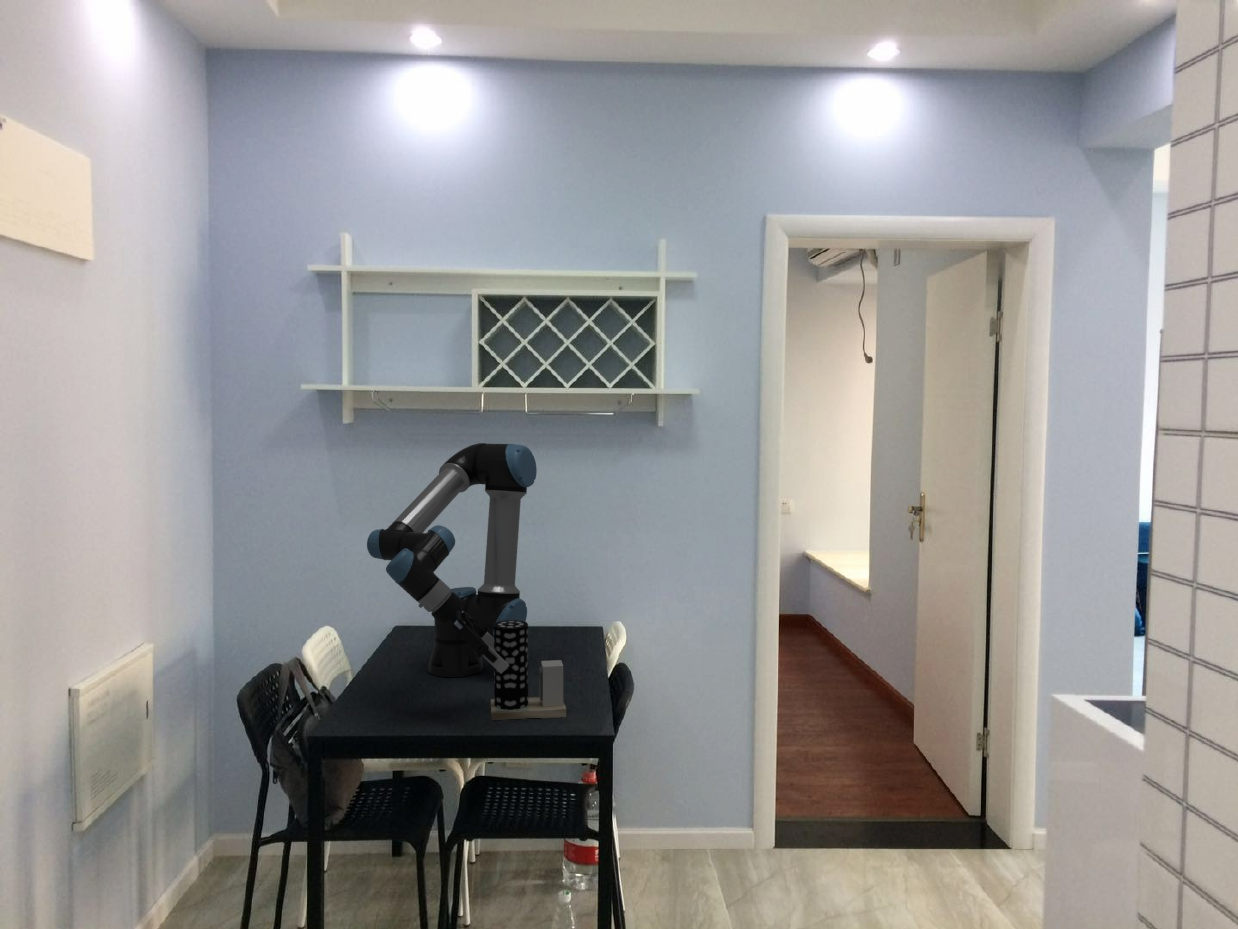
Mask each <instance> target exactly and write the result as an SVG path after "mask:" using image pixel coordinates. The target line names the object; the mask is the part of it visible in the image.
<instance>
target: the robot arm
mask: <svg viewBox="0 0 1238 929" xmlns="http://www.w3.org/2000/svg"><path fill="white" fill-rule="evenodd" d="M537 469H538V468H537V463H536V459H535V456H534V455H533V452H532V451H531V450H530V448H528V446H526V445H521V444H515V443H485V442H482V443H481V442H479V443H473V444H472V445H468V446H466V447H465V448H462V449H460V450H459V451H458V452H456V453H455V454H453V455H452V456H450V457H449V458H448V459H447V460H446V461H445V462H444V463H443V464H442V465H441V466H440V467H439V470H438V474H437V475H436V477H435V478H434V479H433V480H431V482H430V483H429V484H428V485H427V486H426V487H425V488H424V489H423V490H422V491H421V492H420V493H419V494H418V496H416V497H415V499H414V500H412V502H411V503H410V504H409V505H408V506H407V507H406V508H405V509H404V510H403V511H402V512H401V513H400V514H399V515H398V517H397V518H395V520H394V521H393V522H391V524H390V525H389V526H388V527H387V528H386V529H385V528H380V529H375V530H373V531H371V532H370V533H369V535H368V537H367V541H366V548H367V551H368V554H369V556H371V557H372V558H374V559H377V560H378V559H379V560H382V561H388V563H387V565H386V567H385V572H386V573H387V575H388V576H389V577H390V578H391V579H392V581H394V582H395V584H397V585H398V586H399V587H400V588H402V589H403V590H404V591H405V592H406V593H407V594H409V596H410V597H411V598H412V599H413V600H415V601H416V602H418V608H420V609H421V608H422V609H424V610H425V611H427V612H428V613H431V616H432V618H434V620H433V621H434V645H433V648H432V651H431V654H430V656H429V657H430V658H429V661H428V672H429V673H430V674H431V675H434V676H436V677H443V678H460V677H468V676H473V675H475V674H478V673H480V672H481V671H482V670H484V669H483V664H484V660H486V661H487V662H488V663H489V664H490V665H491V666H492V667H493V669H494V668H495V669H497V670H498V671H499V672H500V673H502V672H503V671H504V670H505V669H506V668H507V667H508V666H509V664H508V663H507V662H506V661H505V660H504V659H502V658H501V657H500V656H499V655H498V654H497V653H496V652H495V651H494V624H495V623H496V622H499V621H505V620H519V621H525V622H527V618H528V608H527V606H526V605H527V603H526V602H525V600H523V599H522V598H520V594H521V591H520V590H519V589H518V587H517V586H516V576H517V575H516V574H517V558H518V545H519V531H520V530H519V529H520V515H521V499H523V497H525V495H527V493H528V488H530V487H531V486H532V485H534V483H535V481H536V478H537V471H538V470H537ZM474 485H485V486H484V492H485V493H486V494H487V496H489V505H488V506H489V507H488V517H487V519H488V520H487V532H486V548H485V562H484V563H485V564H484V576H483V578H484V579H483V584H481V586H480V587H479V588H478V589H476V588H475V587H473V586H463V587H461V586H460V587H454V588H453V587H452V588H450V586H449V585H447V584H446V583H445V582H444V581H443V580H442V579H441V578H440V577H438V576H437V574H435V572H436V570H437V569H438V568H439V567H440V566H441V564H442V563H443V562H444V561H445V560H446V558H447V557H449V555H450V554H451V553H450V552H452V550H453V549H454V547H455V545H456V538H455V536H454V533H453V532H452V531H451V530H450V529H449V528H447V527H446V526H444V525H439V524H438V525H437V524H436V525H433V526H432V527H431V528H429V527H430V525H432V524H433V523H434V522H435V520H436V519H437V518H438V517H439V516H440V514H442V512H443V511H444V510H445V509H446V508H447V507H448V506H449V505H450V504H451V503H452V501H453V500H454V499H455V498H456V497H457V496H458V495H459V494H460V493H464V492H466V491H467V490H468V489H469V488H470V487H472V486H474ZM428 528H429V529H428ZM427 529H428V530H427ZM426 530H427V531H426ZM425 531H426V532H425ZM482 657H483V658H482ZM483 659H484V660H483Z"/></svg>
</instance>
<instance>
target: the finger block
mask: <svg viewBox="0 0 1238 929" xmlns="http://www.w3.org/2000/svg"><path fill="white" fill-rule="evenodd" d="M540 665H541V666H540V667H538V697H540V701H542V705H543V707H551V706H563V700H564V664H563V662H562V660H561V659H559V660H541V661H540Z"/></svg>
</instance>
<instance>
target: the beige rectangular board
mask: <svg viewBox="0 0 1238 929" xmlns="http://www.w3.org/2000/svg"><path fill="white" fill-rule="evenodd" d="M490 717H491V718H492V719H491V721H492V720H503V721H508V720H507V719H523V720H525V719H524V718H542V719H556V718H557V719H559V718H561V717H562V718H567V706H566V704H565V701H564V699H563V706H551V707H543V705H542V701H540V697H539V696H532V697H529V696H528V705H527V706H526V707H524V708H521V709H515V710H504V709H499V708H497V707H495V705H494V698H492V699H490ZM562 718H561V719H562Z"/></svg>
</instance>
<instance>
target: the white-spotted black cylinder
mask: <svg viewBox="0 0 1238 929" xmlns="http://www.w3.org/2000/svg"><path fill="white" fill-rule="evenodd" d="M494 651H495V652H496V653H497V654H498V655H499V656H500V657H501V658H502V659H504V660H505V661H506V662H507V663H508V664H509V666H508V667H507V668H506V669H505V670H504V671H503V672H502V673H500V672H499V671H498V670H497V669H495V668H494V667H493V680H494V681H493V685H494V686H493V693H494V694H493V696H494V698H493V699H494V705H495V707H497V708H499V709H504V710H515V709H521V708H524V707H526V706H527V705H528V698H529V624H528V622H527V621H526V622H525V621H519V620H505V621H499V622H496V623H495V624H494Z"/></svg>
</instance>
